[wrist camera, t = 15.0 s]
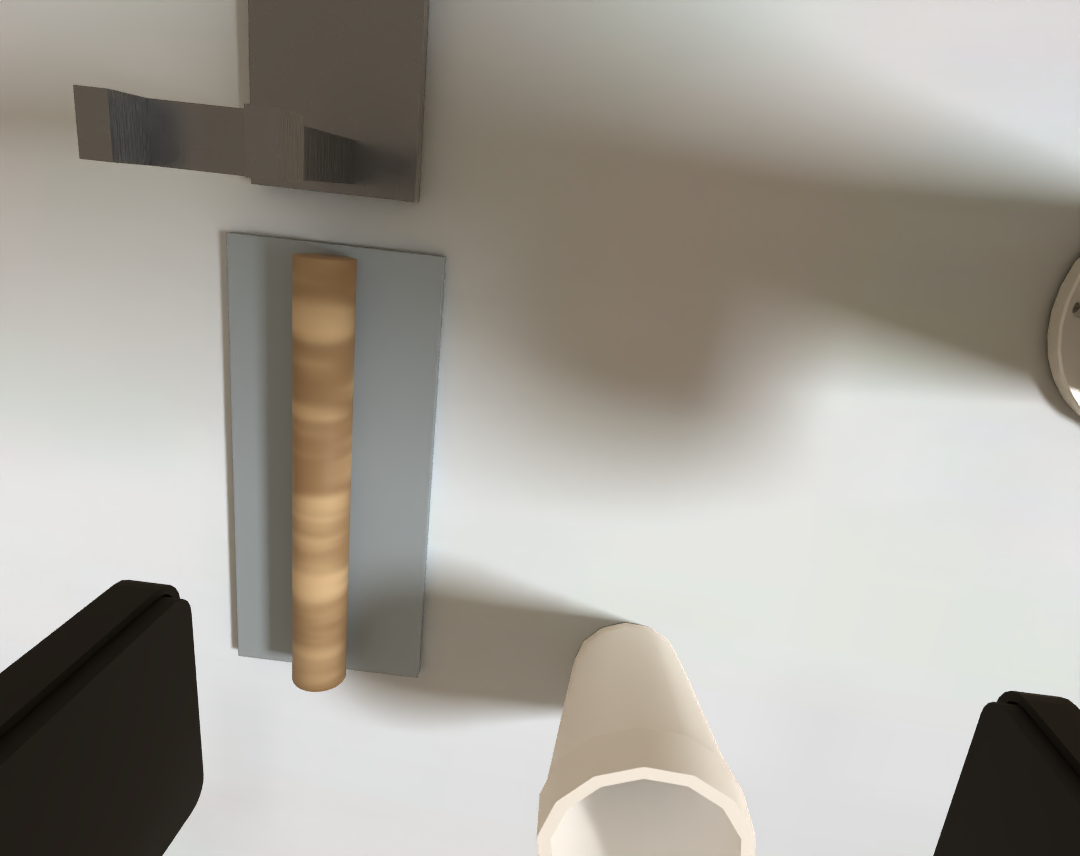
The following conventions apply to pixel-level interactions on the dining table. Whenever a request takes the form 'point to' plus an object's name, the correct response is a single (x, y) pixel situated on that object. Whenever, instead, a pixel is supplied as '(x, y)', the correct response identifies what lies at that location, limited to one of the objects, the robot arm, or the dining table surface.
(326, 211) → the dining table surface
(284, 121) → the cradle stands
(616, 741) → the foam cup
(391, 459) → the slate mat
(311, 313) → the oak dowel
